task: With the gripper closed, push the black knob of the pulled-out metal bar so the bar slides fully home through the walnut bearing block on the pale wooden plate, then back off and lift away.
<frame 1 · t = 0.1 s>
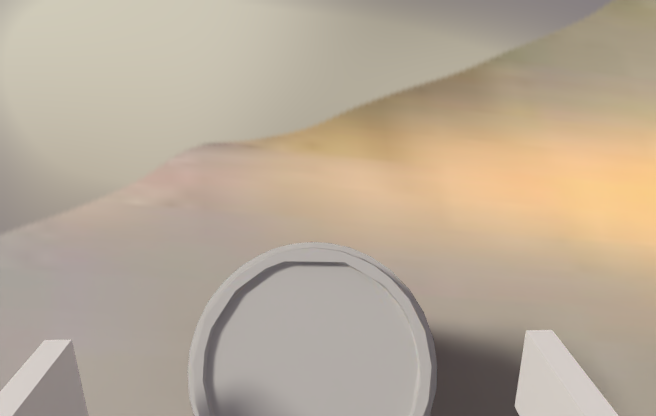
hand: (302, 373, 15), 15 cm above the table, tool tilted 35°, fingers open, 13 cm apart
disposable coffee cup: (315, 358, 30), on the table
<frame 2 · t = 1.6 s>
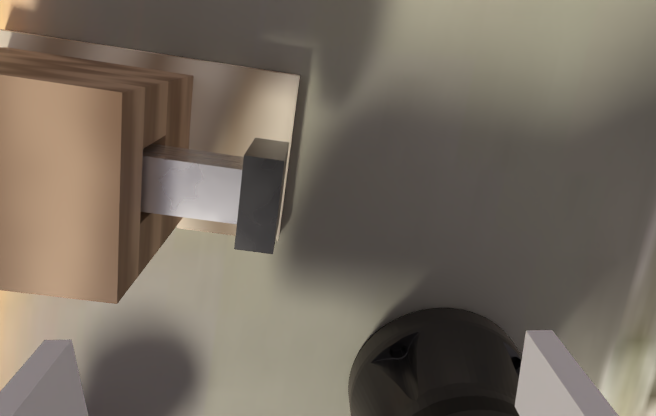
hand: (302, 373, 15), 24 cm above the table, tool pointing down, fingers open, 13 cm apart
bearing block: (151, 138, 36), on the table
shaft: (139, 175, 27), point 9 cm above the table, slide at 5.0 cm
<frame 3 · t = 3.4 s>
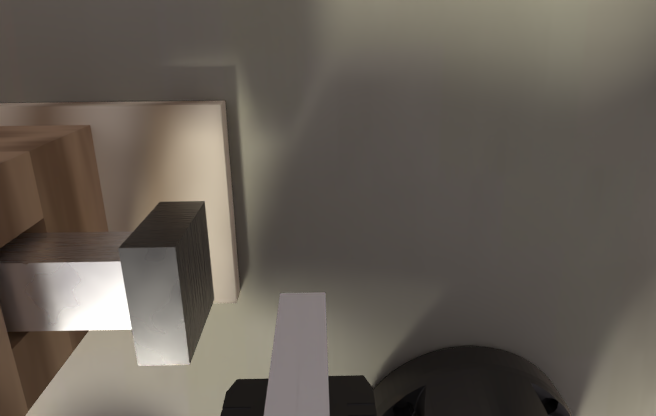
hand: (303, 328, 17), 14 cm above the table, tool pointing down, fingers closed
bearing block: (64, 204, 30), on the table
shaft: (10, 280, 21), point 9 cm above the table, slide at 5.0 cm
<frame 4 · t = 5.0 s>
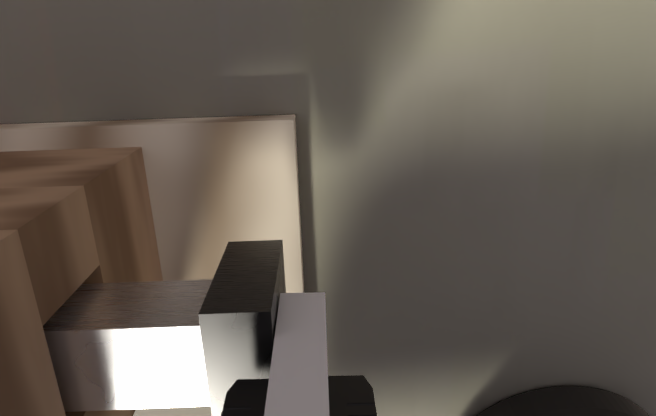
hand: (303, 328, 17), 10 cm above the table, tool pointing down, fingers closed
bearing block: (108, 237, 26), on the table
shaft: (53, 345, 17), point 10 cm above the table, slide at 4.6 cm, touching gripper
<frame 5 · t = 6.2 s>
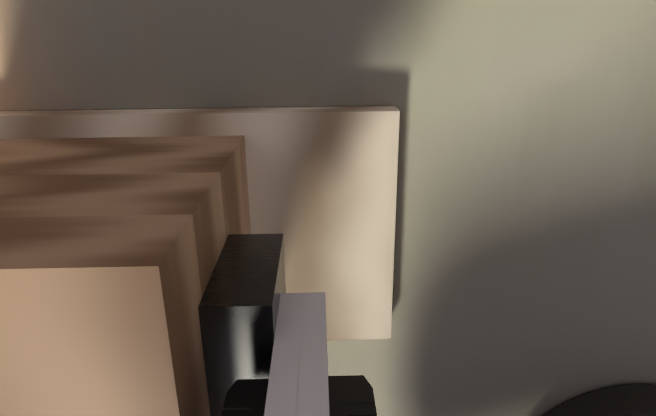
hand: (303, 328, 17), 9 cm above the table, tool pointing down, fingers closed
bearing block: (196, 226, 26), on the table
shaft: (48, 336, 17), point 10 cm above the table, slide at 0.0 cm, touching gripper
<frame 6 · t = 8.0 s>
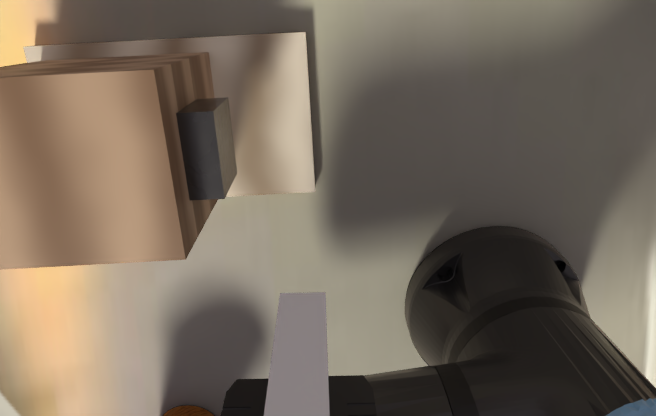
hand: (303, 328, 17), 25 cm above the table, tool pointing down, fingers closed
bearing block: (182, 119, 39), on the table
shaft: (97, 152, 30), point 9 cm above the table, slide at 0.0 cm, touching bearing block
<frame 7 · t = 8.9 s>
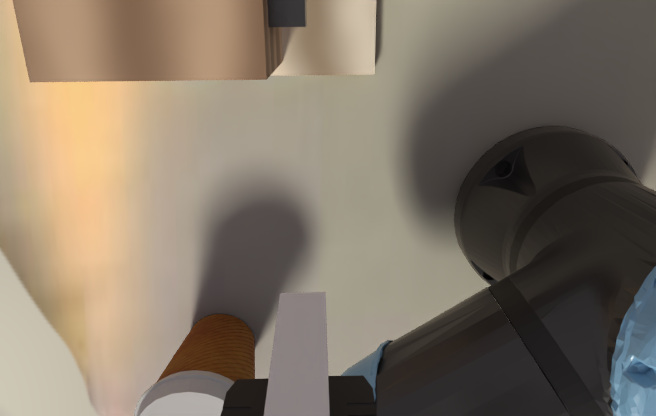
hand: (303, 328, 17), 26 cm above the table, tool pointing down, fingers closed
disposable coffee cup: (222, 340, 48), on the table
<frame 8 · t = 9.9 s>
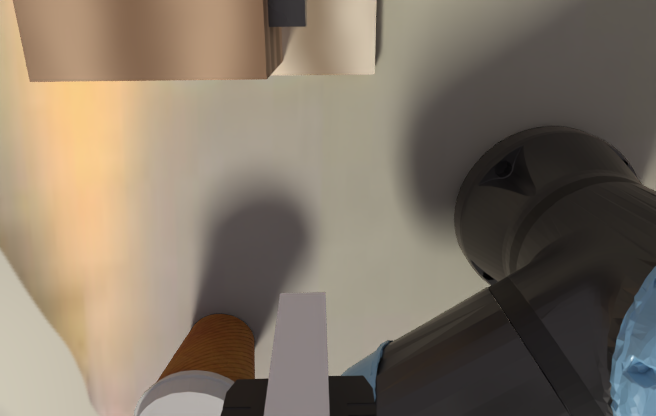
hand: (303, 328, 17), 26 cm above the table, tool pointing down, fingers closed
disposable coffee cup: (222, 340, 48), on the table
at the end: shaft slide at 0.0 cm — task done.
